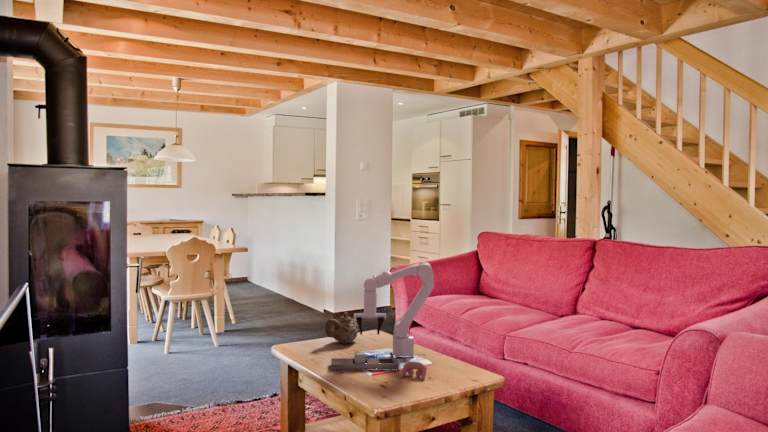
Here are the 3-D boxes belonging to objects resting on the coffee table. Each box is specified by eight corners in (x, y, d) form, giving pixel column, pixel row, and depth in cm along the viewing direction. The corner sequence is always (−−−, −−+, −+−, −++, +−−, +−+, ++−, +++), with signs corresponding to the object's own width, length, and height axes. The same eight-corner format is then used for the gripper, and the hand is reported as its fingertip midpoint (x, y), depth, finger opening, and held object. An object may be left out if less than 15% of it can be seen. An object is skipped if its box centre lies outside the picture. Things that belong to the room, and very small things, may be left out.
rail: (396, 363, 240) (396, 357, 239) (398, 370, 232) (398, 364, 232) (331, 364, 237) (331, 358, 237) (331, 370, 229) (331, 364, 229)
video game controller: (426, 381, 224) (428, 363, 226) (424, 379, 219) (426, 361, 222) (402, 378, 227) (405, 360, 229) (400, 376, 223) (402, 359, 225)
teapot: (354, 336, 280) (355, 307, 279) (369, 342, 271) (369, 311, 270) (319, 343, 266) (319, 312, 265) (332, 349, 257) (333, 317, 256)
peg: (363, 365, 237) (363, 351, 236) (365, 368, 233) (365, 354, 233) (354, 365, 236) (354, 351, 236) (355, 368, 232) (356, 354, 232)
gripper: (385, 302, 255) (384, 331, 256) (353, 302, 253) (353, 331, 254) (386, 305, 248) (386, 335, 249) (354, 305, 246) (353, 335, 247)
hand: (369, 333), depth 251 cm, fingers open, 7 cm apart
